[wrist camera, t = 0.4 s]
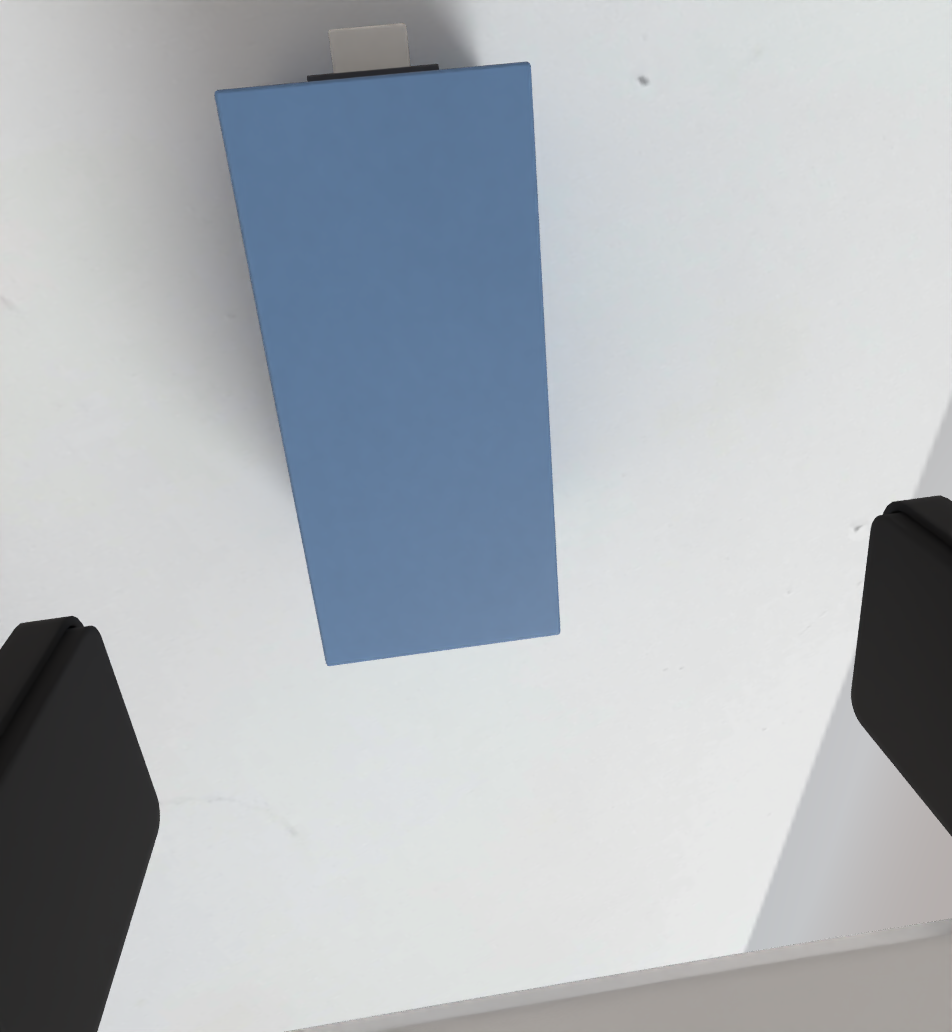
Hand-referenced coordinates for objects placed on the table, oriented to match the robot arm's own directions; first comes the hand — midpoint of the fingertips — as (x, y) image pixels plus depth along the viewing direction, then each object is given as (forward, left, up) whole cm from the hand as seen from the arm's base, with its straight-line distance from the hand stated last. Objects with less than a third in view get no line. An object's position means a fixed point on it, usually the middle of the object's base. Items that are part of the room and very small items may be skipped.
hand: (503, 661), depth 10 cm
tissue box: (-1, -1, -16) cm, 16 cm away
